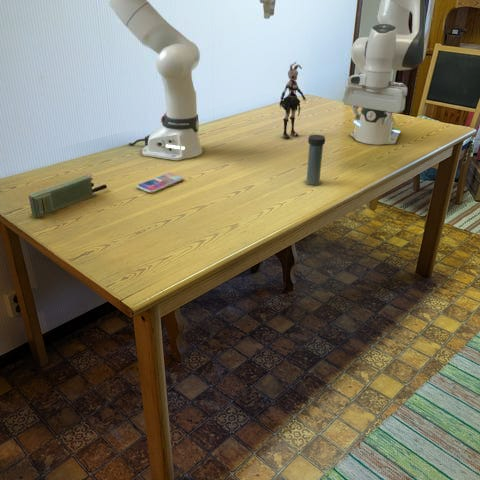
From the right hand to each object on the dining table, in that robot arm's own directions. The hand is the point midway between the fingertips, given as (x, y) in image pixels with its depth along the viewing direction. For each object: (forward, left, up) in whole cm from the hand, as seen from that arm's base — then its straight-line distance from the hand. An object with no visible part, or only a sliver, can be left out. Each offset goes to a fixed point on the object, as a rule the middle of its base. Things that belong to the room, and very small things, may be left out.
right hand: (370, 122), depth 169 cm
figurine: (-18, -40, -17) cm, 46 cm away
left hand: (+11, -35, +31) cm, 48 cm away
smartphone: (+51, -50, -17) cm, 73 cm away
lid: (+21, -10, -2) cm, 23 cm away
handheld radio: (+76, -62, -17) cm, 100 cm away
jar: (+21, -10, -17) cm, 29 cm away
